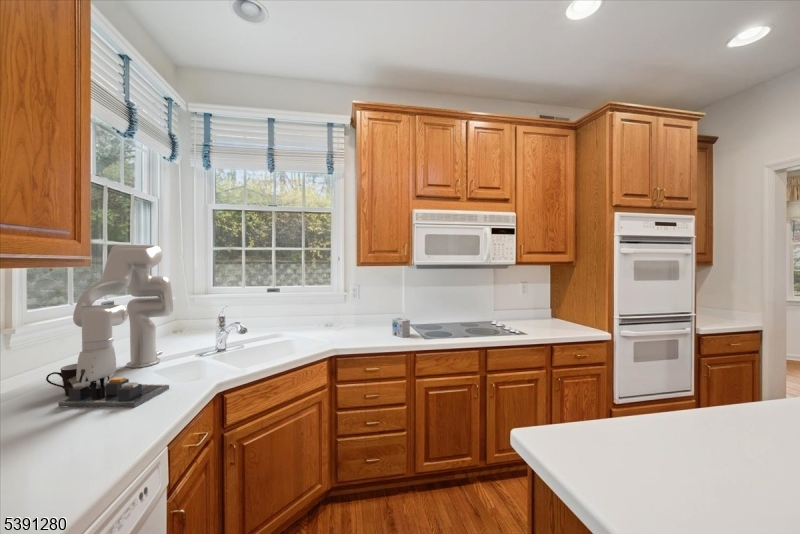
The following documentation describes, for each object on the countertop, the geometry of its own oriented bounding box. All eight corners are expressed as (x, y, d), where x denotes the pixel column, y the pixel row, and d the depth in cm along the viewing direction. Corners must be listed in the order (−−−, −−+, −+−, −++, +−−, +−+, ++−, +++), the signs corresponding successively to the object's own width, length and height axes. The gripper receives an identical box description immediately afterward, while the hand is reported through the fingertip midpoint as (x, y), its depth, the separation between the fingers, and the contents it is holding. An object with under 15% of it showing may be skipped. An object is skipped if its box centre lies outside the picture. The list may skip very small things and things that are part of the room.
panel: (102, 388, 126) (102, 371, 126) (169, 388, 125) (169, 371, 125) (58, 406, 110) (58, 387, 110) (134, 407, 109) (134, 387, 109)
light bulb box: (392, 334, 217) (392, 318, 217) (399, 333, 222) (399, 317, 222) (402, 337, 209) (402, 321, 209) (410, 336, 214) (410, 319, 213)
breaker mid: (118, 389, 120) (117, 376, 120) (128, 389, 120) (128, 376, 120) (105, 395, 115) (105, 381, 115) (116, 395, 115) (116, 381, 115)
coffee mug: (99, 387, 127) (98, 361, 127) (81, 396, 118) (81, 369, 118) (64, 389, 125) (64, 363, 125) (44, 398, 116) (43, 370, 116)
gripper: (107, 339, 118) (107, 390, 118) (63, 351, 103) (64, 408, 103) (127, 339, 117) (128, 390, 118) (86, 351, 102) (87, 409, 103)
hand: (98, 398), depth 110 cm, fingers closed
